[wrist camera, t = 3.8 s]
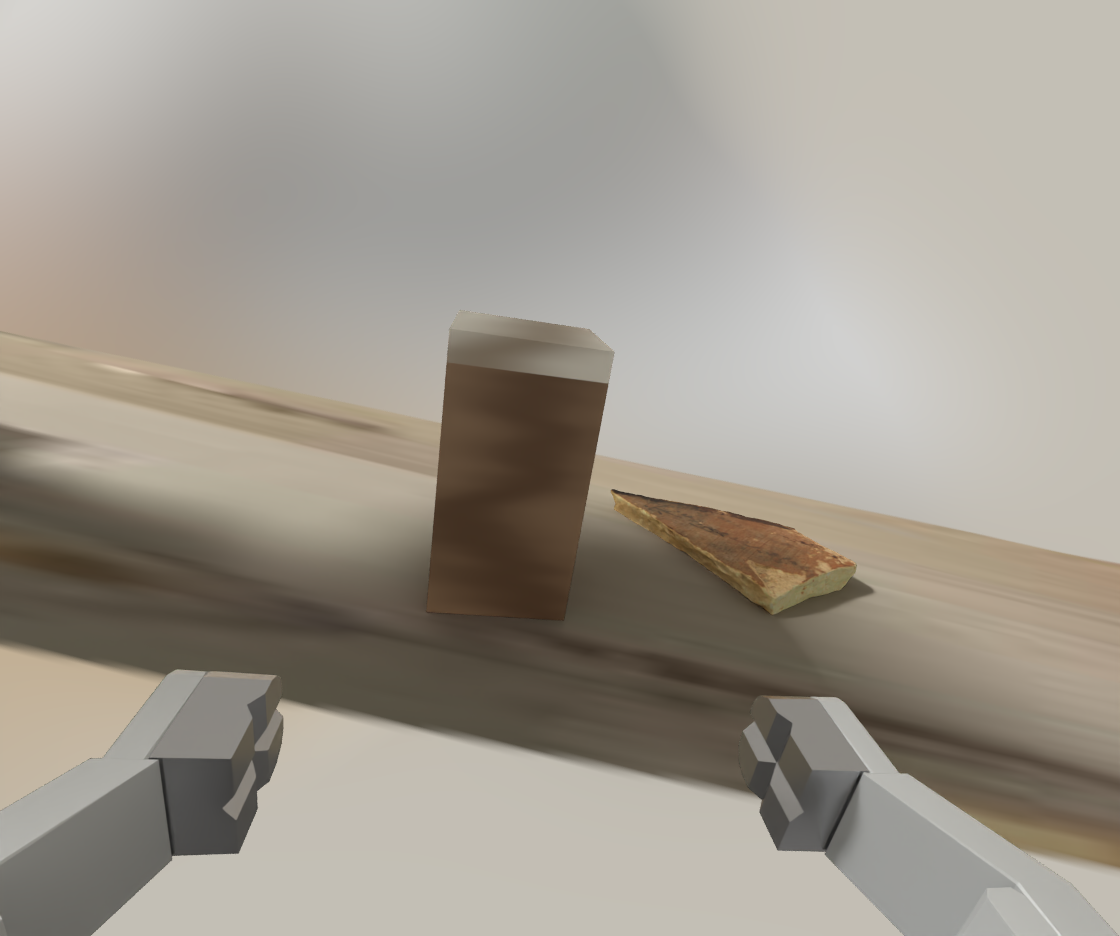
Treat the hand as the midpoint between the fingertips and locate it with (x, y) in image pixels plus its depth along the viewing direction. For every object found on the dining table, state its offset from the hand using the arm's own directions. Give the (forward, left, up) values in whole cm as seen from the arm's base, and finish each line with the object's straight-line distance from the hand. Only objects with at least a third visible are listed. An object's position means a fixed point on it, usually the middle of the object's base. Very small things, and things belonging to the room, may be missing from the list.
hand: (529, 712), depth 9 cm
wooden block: (0, +12, -5) cm, 13 cm away
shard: (+11, +15, -6) cm, 20 cm away
